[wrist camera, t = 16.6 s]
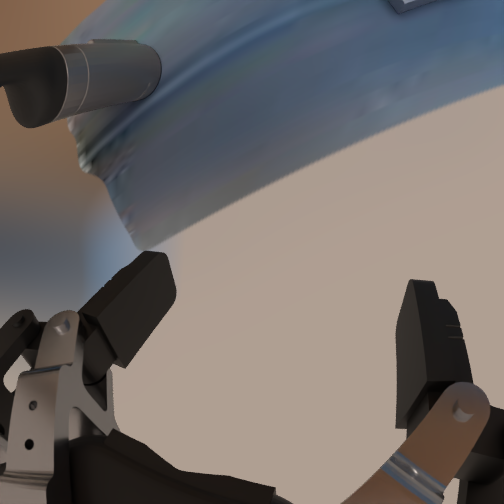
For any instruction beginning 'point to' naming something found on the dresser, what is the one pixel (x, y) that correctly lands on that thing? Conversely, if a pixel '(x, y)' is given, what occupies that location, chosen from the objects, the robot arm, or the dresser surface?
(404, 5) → the slate blue open bin
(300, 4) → the dresser surface
